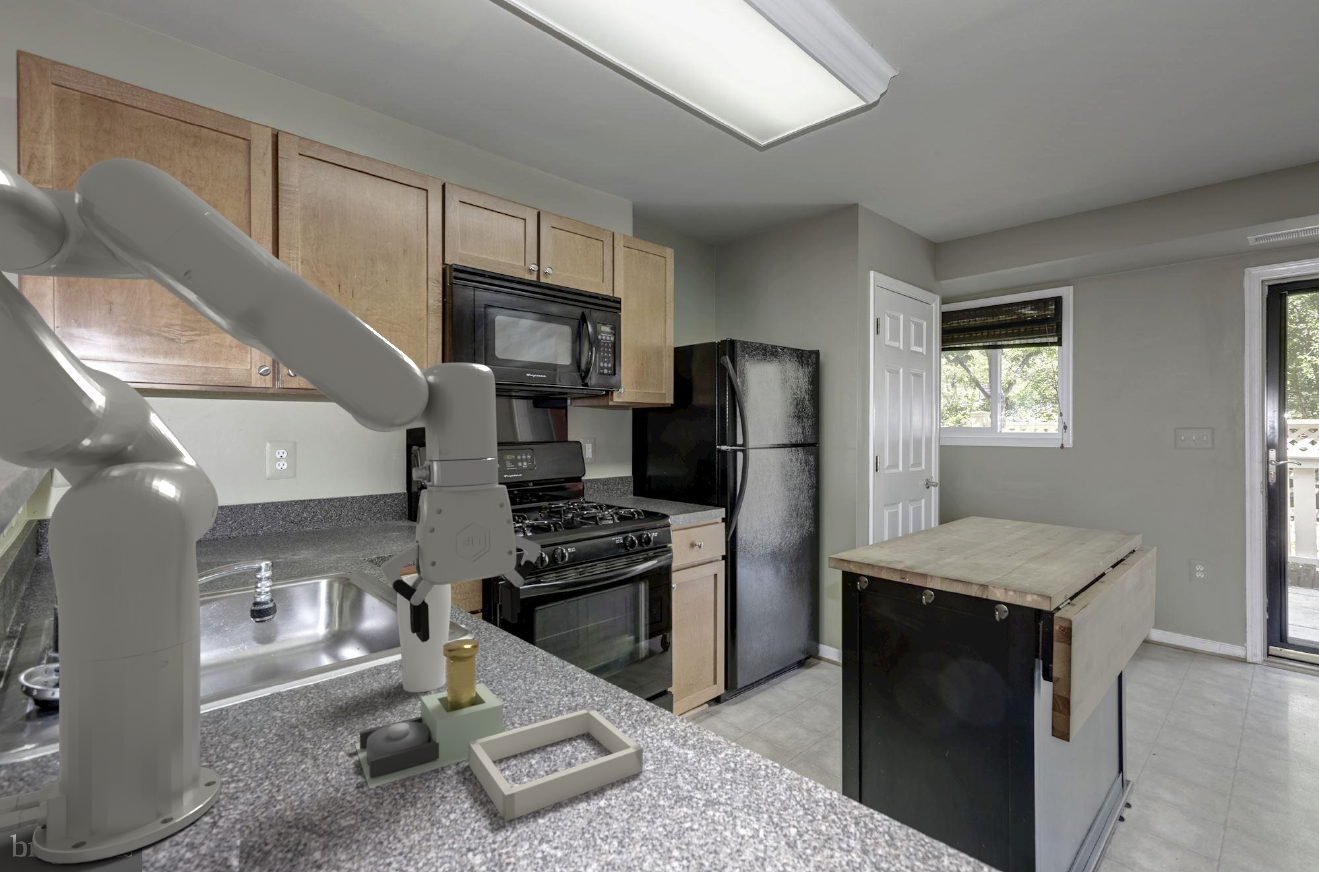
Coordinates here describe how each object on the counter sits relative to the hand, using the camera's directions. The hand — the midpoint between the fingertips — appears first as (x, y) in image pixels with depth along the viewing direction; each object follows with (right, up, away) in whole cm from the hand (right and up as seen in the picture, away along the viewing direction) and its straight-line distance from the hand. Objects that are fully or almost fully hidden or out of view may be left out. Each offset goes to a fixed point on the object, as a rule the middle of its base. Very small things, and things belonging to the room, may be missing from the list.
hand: (467, 628), depth 67 cm
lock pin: (-1, -12, 0) cm, 12 cm away
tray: (+11, -13, -7) cm, 18 cm away
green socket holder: (-3, -13, -2) cm, 13 cm away
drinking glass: (-10, -13, +14) cm, 22 cm away
